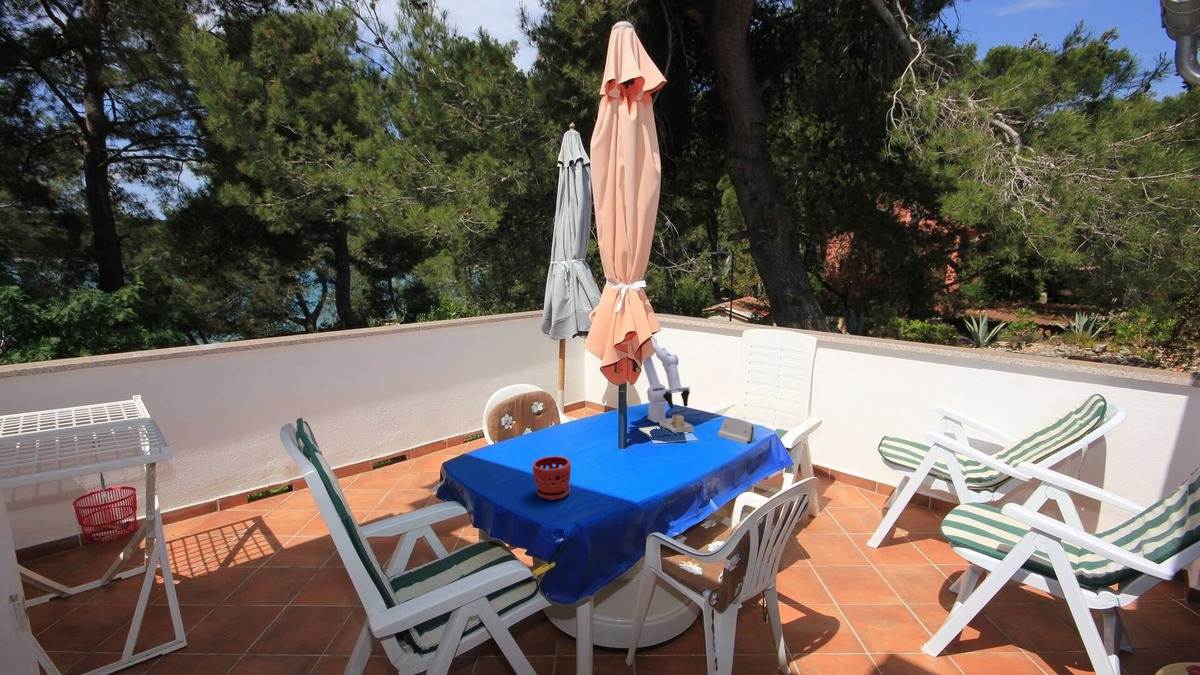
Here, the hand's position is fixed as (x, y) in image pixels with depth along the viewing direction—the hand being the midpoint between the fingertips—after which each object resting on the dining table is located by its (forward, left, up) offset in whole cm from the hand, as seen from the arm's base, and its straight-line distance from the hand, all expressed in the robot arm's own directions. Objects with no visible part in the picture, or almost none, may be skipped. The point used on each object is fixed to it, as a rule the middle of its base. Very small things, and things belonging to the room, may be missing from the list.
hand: (678, 407), depth 263 cm
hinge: (+20, +19, -12) cm, 30 cm away
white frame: (-3, 0, -12) cm, 12 cm away
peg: (-1, 0, -12) cm, 12 cm away
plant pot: (+48, -77, -12) cm, 91 cm away
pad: (-2, -12, -11) cm, 17 cm away
